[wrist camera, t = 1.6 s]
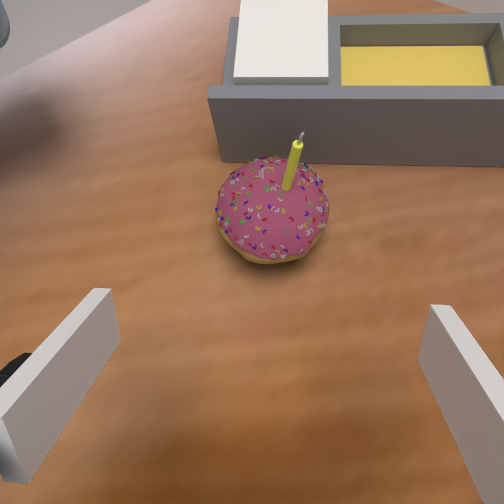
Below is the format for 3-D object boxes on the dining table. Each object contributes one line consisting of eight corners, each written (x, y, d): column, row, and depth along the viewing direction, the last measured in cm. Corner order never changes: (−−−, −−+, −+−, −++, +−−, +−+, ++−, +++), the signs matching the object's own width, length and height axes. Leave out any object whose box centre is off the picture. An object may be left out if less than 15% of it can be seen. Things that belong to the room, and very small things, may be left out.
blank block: (241, 136, 34) (233, 76, 28) (248, 54, 37) (242, -17, 31) (318, 137, 34) (328, 76, 27) (318, 53, 37) (327, -18, 30)
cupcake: (289, 173, 34) (295, 67, 23) (342, 248, 31) (380, 170, 20) (206, 217, 33) (170, 129, 22) (253, 298, 30) (240, 246, 19)
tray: (222, 161, 35) (207, 98, 27) (234, 49, 39) (224, -32, 32) (513, 167, 33) (587, 99, 25) (489, 47, 37) (544, -40, 30)
